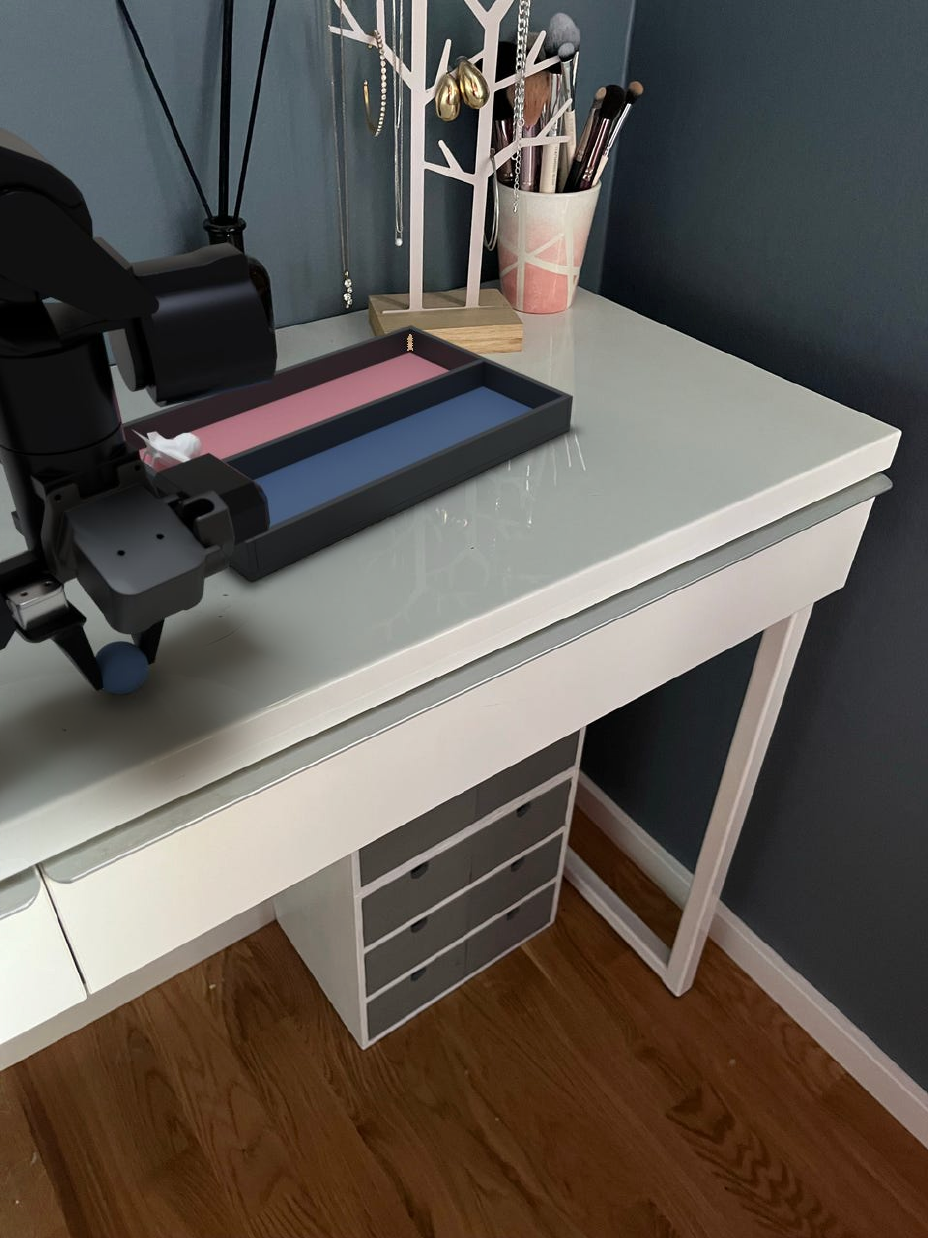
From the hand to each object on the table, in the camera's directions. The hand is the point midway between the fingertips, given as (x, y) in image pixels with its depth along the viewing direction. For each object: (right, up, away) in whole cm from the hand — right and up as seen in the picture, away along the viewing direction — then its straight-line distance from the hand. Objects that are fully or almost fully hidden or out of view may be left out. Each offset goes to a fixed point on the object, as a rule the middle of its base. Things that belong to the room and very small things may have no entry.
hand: (121, 673), depth 56 cm
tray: (+10, +17, +23) cm, 30 cm away
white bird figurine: (-2, +14, +19) cm, 23 cm away
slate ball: (0, 0, 0) cm, 0 cm away
